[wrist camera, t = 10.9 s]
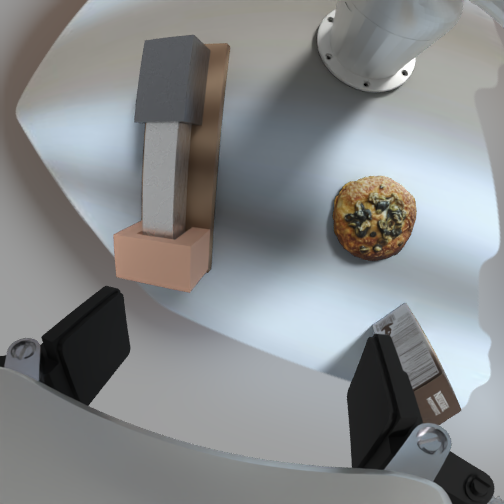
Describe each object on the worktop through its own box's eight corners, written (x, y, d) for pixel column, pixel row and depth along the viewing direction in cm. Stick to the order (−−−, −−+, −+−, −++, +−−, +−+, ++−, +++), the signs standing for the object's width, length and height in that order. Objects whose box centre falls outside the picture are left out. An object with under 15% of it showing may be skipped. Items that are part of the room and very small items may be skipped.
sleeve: (166, 53, 31) (144, 40, 25) (210, 50, 30) (194, 34, 25) (158, 124, 34) (134, 122, 29) (202, 125, 34) (183, 121, 28)
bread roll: (367, 275, 38) (373, 286, 33) (313, 211, 38) (312, 214, 33) (427, 221, 34) (441, 225, 30) (375, 155, 35) (382, 150, 30)
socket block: (141, 220, 39) (113, 234, 33) (210, 229, 38) (190, 246, 31) (142, 257, 41) (116, 277, 34) (208, 269, 40) (189, 292, 33)
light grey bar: (163, 110, 33) (147, 107, 29) (193, 110, 32) (179, 106, 29) (157, 251, 39) (143, 261, 35) (184, 255, 39) (172, 267, 35)
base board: (159, 51, 32) (154, 48, 31) (230, 47, 31) (227, 43, 30) (147, 257, 43) (142, 261, 41) (211, 268, 41) (208, 272, 40)
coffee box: (428, 339, 39) (463, 412, 24) (395, 361, 41) (418, 438, 27) (405, 300, 38) (444, 373, 23) (369, 324, 40) (391, 405, 25)
